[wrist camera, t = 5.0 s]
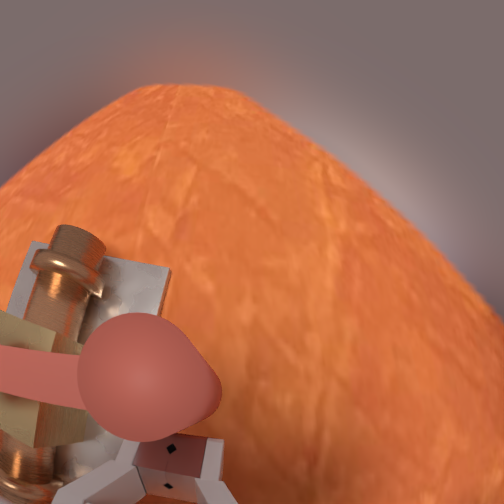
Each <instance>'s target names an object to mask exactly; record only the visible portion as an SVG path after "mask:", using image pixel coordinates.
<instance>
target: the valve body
mask: <svg viewBox="0 0 504 504" xmlns="http://www.w3.org/2000/svg"><path fill="white" fill-rule="evenodd" d="M105 252H106V247H105V245H104V244H103V242H102V241H101V240H99V239H98V238H97V237H96V236H94V235H93V234H91V233H89V232H87V231H85V230H83V229H81V228H78V227H75V226H71V225H59V226H57V228H56V230H55V232H54V234H53V237H52V239H51V241H50V244H45V243H41V242H36V241H32V243H31V245H30V248H29V250H28V252H27V255H26V257H25V260H24V262H23V265H22V268H21V270H20V273H19V276H18V278H17V281H16V284H15V287H14V289H13V292H12V295H11V298H10V301H9V304H8V308H7V311H6V312H4V311H2V310H0V345H5V346H11V347H17V348H23V349H30V350H37V351H45V352H53V353H61V354H70V355H80V354H81V351H82V348H83V346H84V344H85V342H86V341H87V339H88V338H89V336H90V335H91V334H92V333H93V331H94V330H95V329H96V328H98V327H99V326H100V325H101V324H102V323H104V322H105V321H107V320H109V319H111V318H113V317H115V316H118V315H121V314H126V313H135V312H140V313H148V314H153V315H156V316H159V317H160V313H161V310H162V306H163V302H164V298H165V294H166V290H167V287H168V283H169V279H170V276H171V270H170V268H167V267H162V266H156V265H151V264H146V263H140V262H135V261H130V260H124V259H119V258H114V257H109V256H104V254H105ZM123 440H124V439H122V438H119V437H117V436H115V435H113V434H111V433H110V432H108V431H107V430H105V429H104V428H103V427H101V426H100V425H99V424H98V423H97V422H96V421H95V420H94V419H93V418H92V416H91V415H90V413H89V412H88V411H87V410H83V409H77V408H71V407H65V406H60V405H55V404H50V403H45V402H40V401H36V400H31V399H27V398H23V397H19V396H15V395H11V394H7V393H4V392H0V495H1V496H2V497H4V498H6V499H7V500H9V501H11V502H12V503H14V504H51V503H52V501H53V499H54V497H55V495H56V493H57V491H58V489H60V488H62V487H64V486H66V485H67V484H69V483H71V482H73V481H75V480H76V479H78V478H80V477H82V476H84V475H85V474H87V473H89V472H91V471H92V470H94V469H96V468H97V467H99V466H101V465H103V464H104V463H106V462H108V461H109V460H115V459H116V457H117V454H118V452H119V450H120V447H121V445H122V443H123Z"/></svg>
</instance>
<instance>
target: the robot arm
mask: <svg viewBox="0 0 504 504" xmlns="http://www.w3.org/2000/svg"><path fill="white" fill-rule="evenodd" d="M223 461H224V439H215V438H208V437H201V436H193V435H186V434H179V433H177V434H176V433H174V434H172V435H170V436H168V437H165V438H163V439H160V440H156V441H150V442H135V441H129V440H126V439H124V440H123V443H122V445H121V447H120V450H119V452H118V454H117V457H116V459H115V460H109V461H108V462H106V463H104V464H103V465H101V466H99V467H97V468H96V469H94V470H92V471H91V472H89V473H87V474H85V475H84V476H82V477H80V478H78V479H76V480H75V481H73V482H71V483H69V484H67V485H66V486H64V487H62V488H60V489H58V491H57V493H56V495H55V497H54V499H53V501H52V503H51V504H136V503H137V502H138V501H139V500H141V499H142V498H143V497H144V496H145V495H146V494H151V495H156V496H162V497H167V498H173V499H177V500H183V501H188V502H193V503H197V504H238V503H237V501H236V500H235V498H234V497H233V495H232V494H231V492H230V491H229V489H228V488H227V486H226V484H225V483H224V481H222V474H223ZM0 504H14V503H12V502H11V501H9V500H7V499H6V498H4V497H2V496H1V495H0Z"/></svg>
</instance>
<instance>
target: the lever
mask: <svg viewBox="0 0 504 504" xmlns="http://www.w3.org/2000/svg"><path fill="white" fill-rule="evenodd" d="M0 392H4V393H7V394H11V395H15V396H19V397H23V398H27V399H31V400H36V401H40V402H45V403H50V404H55V405H60V406H65V407H71V408H77V409H83V410H87V411H88V412H89V413H90V415H91V416H92V418H93V419H94V420H95V421H96V422H97V423H98V424H99V425H100V426H101V427H103V428H104V429H105V430H107V431H108V432H110V433H111V434H113V435H115V436H117V437H119V438H122V439H126V440H129V441H135V442H150V441H156V440H160V439H163V438H165V437H168V436H170V435H172V434H174V433H177V432H179V431H181V430H183V429H185V428H187V427H189V426H191V425H193V424H196V423H198V422H200V421H202V420H204V419H206V418H207V417H209V416H210V415H212V414H213V413H214V412H215V410H216V409H217V408H218V406H219V404H220V401H221V397H222V387H221V383H220V380H219V378H218V376H217V375H216V373H215V372H214V371H213V369H212V368H211V367H210V366H209V365H208V363H207V362H206V361H205V360H204V358H203V357H202V356H201V354H200V353H199V352H198V351H197V349H196V348H195V347H194V346H193V344H192V343H191V342H190V340H189V339H188V338H187V337H186V335H185V334H184V333H183V332H182V331H181V330H180V329H179V328H177V327H176V326H175V325H174V324H172V323H171V322H169V321H167V320H165V319H163V318H161V317H159V316H156V315H153V314H148V313H140V312H135V313H126V314H121V315H118V316H115V317H113V318H111V319H109V320H107V321H105V322H104V323H102V324H101V325H100V326H99V327H98V328H96V329H95V330H94V331H93V333H92V334H91V335H90V336H89V338H88V339H87V341H86V342H85V344H84V346H83V348H82V351H81V354H80V355H70V354H61V353H53V352H45V351H37V350H30V349H23V348H17V347H11V346H5V345H0Z"/></svg>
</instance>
